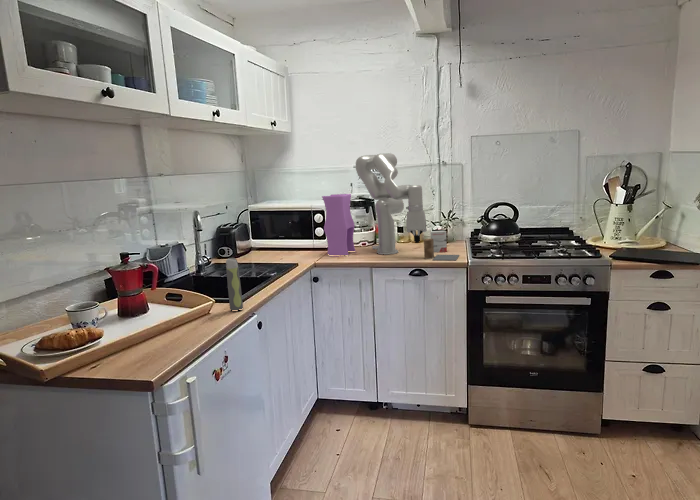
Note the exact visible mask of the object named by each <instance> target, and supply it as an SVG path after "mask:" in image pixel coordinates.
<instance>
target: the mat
mask: <svg viewBox="0 0 700 500" xmlns="http://www.w3.org/2000/svg"><path fill="white" fill-rule="evenodd" d="M459 257H460V254H436V255H434V257H433V258H432V261H437V262H438V261H446V262H447V261H449V262H451V261H454V262H455V261H457V259H458V258H459Z"/></svg>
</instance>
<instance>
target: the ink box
mask: <svg viewBox="0 0 700 500" xmlns="http://www.w3.org/2000/svg"><path fill="white" fill-rule="evenodd" d="M430 239H434V253H447V251H448V248H447V247H448V244H447V241H448V239H447V231H446V230H431V231H430Z"/></svg>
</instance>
